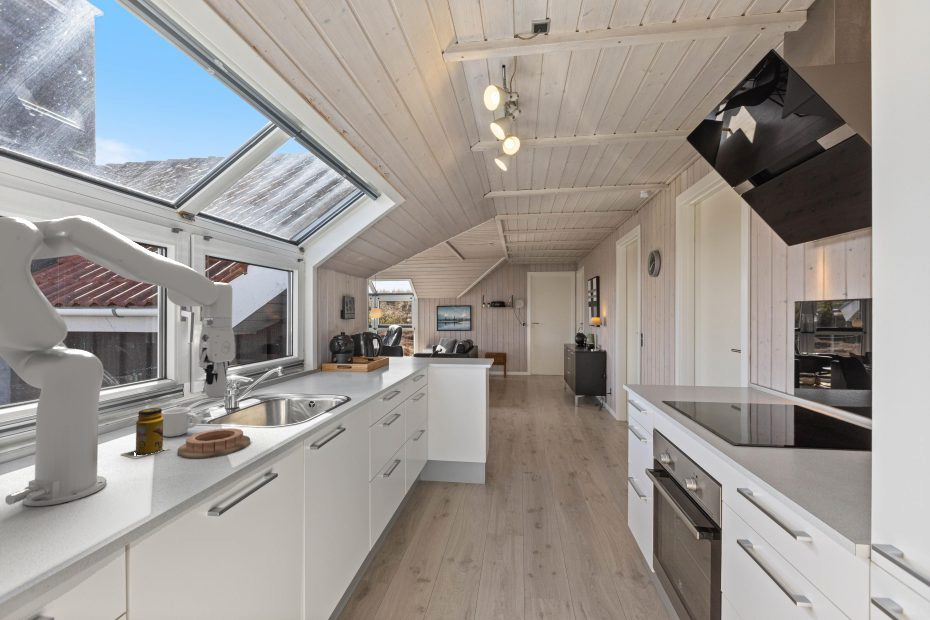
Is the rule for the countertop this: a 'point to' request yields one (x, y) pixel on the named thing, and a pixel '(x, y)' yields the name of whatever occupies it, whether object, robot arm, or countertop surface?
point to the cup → (177, 421)
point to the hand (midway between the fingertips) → (216, 385)
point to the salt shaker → (220, 386)
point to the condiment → (148, 433)
